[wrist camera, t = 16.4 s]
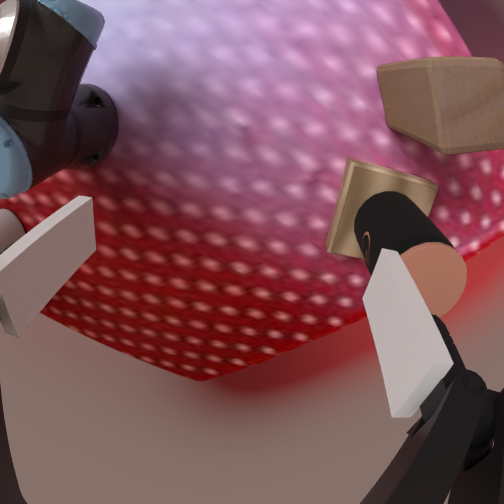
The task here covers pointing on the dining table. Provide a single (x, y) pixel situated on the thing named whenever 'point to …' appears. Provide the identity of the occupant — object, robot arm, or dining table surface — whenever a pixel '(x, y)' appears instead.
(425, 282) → the coffee jar
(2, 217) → the cylinder vase
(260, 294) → the dining table surface
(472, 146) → the wooden block
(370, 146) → the dining table surface
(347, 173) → the plinth
